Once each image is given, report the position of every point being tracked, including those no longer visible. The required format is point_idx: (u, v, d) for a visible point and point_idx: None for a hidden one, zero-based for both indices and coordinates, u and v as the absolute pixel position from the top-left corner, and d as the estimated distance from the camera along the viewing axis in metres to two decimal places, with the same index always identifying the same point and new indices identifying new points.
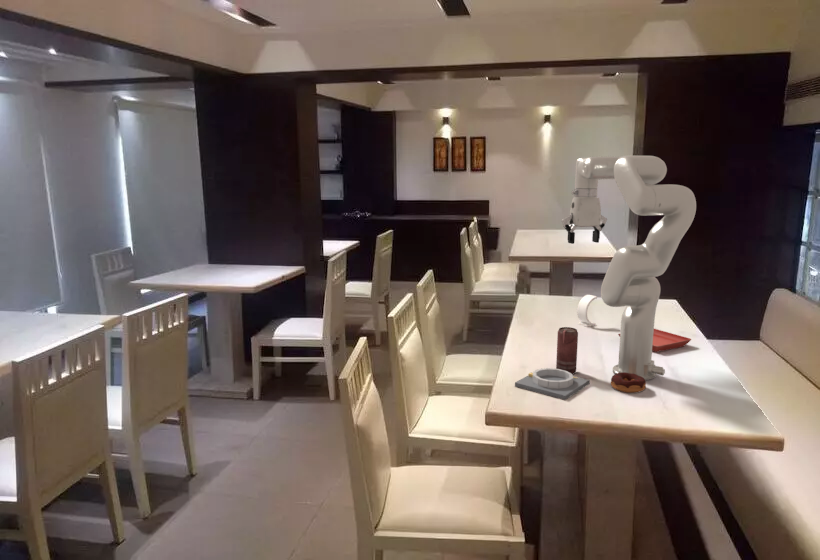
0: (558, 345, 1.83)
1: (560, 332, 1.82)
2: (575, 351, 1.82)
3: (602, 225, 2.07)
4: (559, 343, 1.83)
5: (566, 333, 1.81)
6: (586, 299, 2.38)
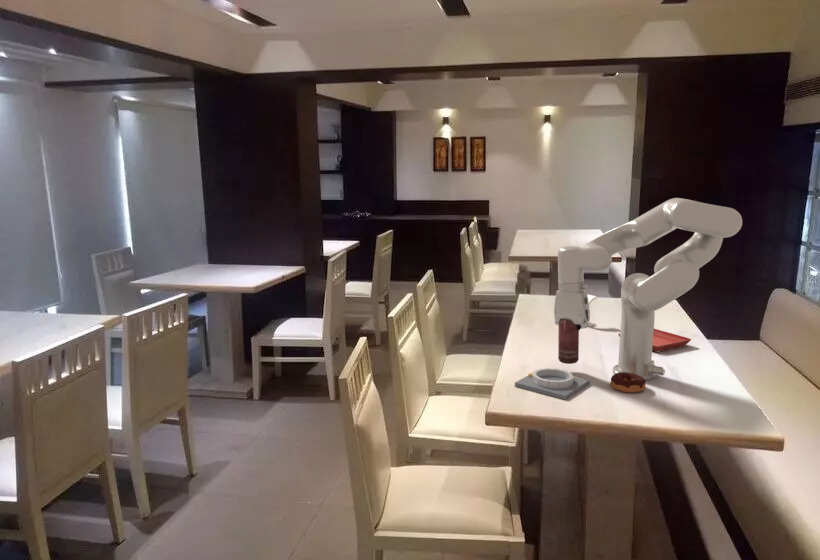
0: (559, 334, 1.83)
1: (561, 321, 1.81)
2: (577, 340, 1.82)
3: None
4: (560, 332, 1.82)
5: (567, 322, 1.80)
6: None
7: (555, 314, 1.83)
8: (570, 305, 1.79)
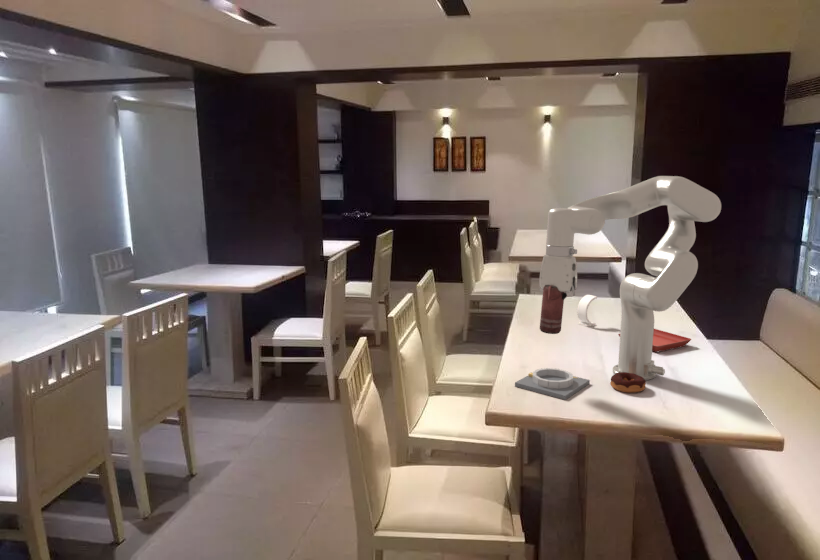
0: (543, 302, 1.71)
1: (545, 287, 1.70)
2: (560, 309, 1.70)
3: None
4: (544, 299, 1.70)
5: (552, 289, 1.68)
6: (586, 299, 2.38)
7: (540, 280, 1.72)
8: (557, 270, 1.67)
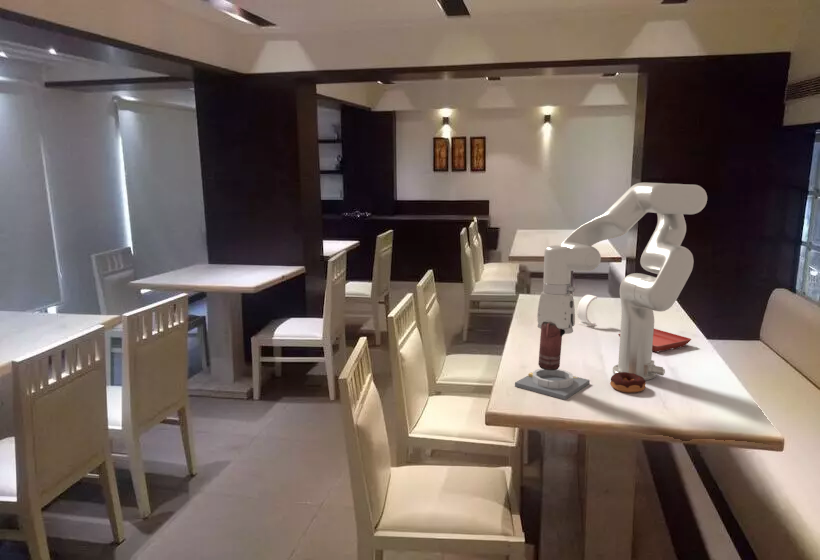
0: (541, 338, 1.72)
1: (544, 325, 1.70)
2: (559, 345, 1.71)
3: None
4: (542, 336, 1.71)
5: (550, 326, 1.69)
6: (586, 299, 2.38)
7: (538, 317, 1.72)
8: (554, 308, 1.68)
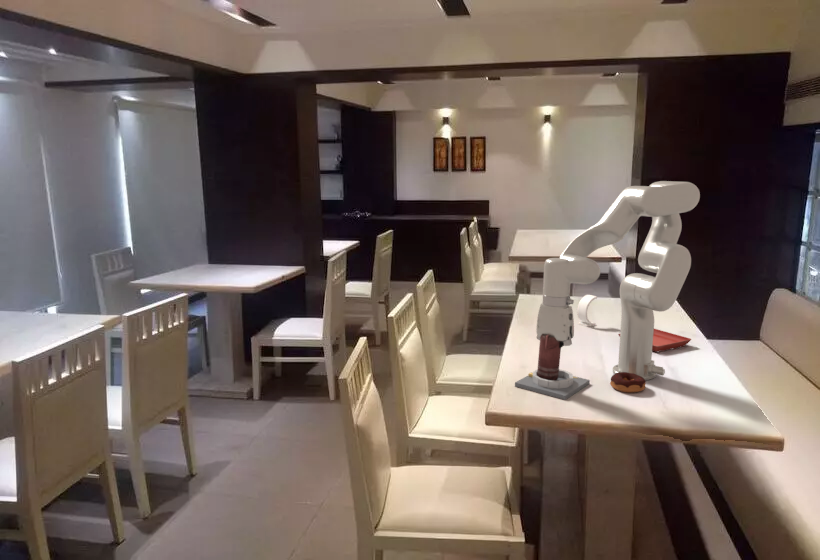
0: (540, 350, 1.72)
1: (543, 336, 1.71)
2: (558, 357, 1.71)
3: None
4: (541, 348, 1.72)
5: (549, 338, 1.70)
6: (586, 299, 2.38)
7: (537, 329, 1.73)
8: (554, 320, 1.68)
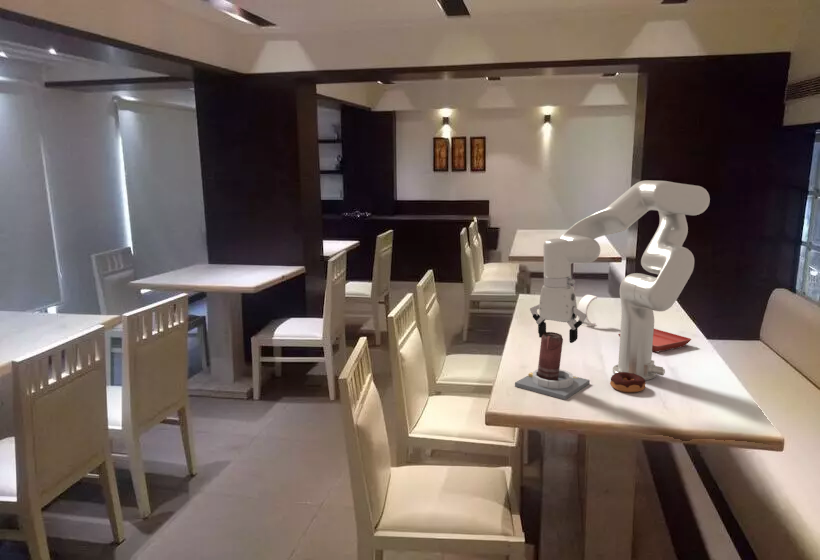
0: (541, 351, 1.73)
1: (544, 337, 1.71)
2: (559, 358, 1.72)
3: None
4: (542, 349, 1.72)
5: (550, 339, 1.70)
6: (586, 299, 2.38)
7: (540, 311, 1.72)
8: (556, 301, 1.68)
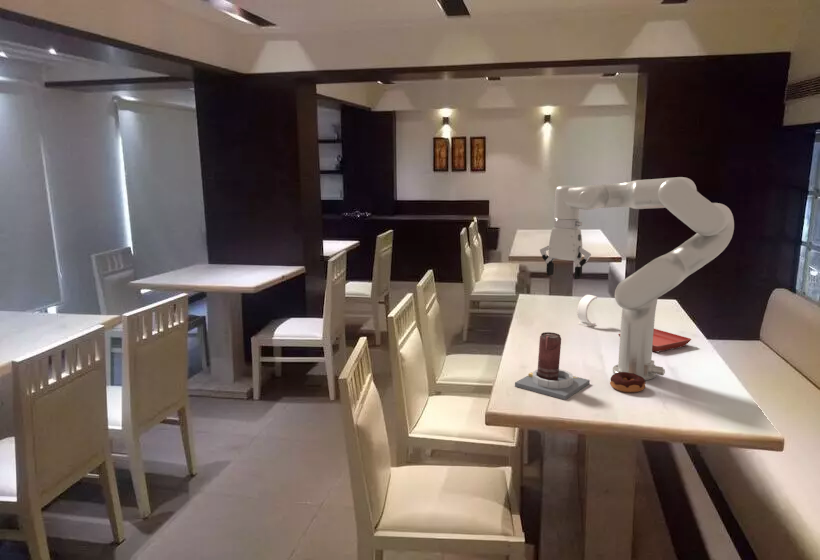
0: (540, 351, 1.73)
1: (543, 338, 1.72)
2: (558, 358, 1.72)
3: None
4: (541, 349, 1.72)
5: (549, 339, 1.70)
6: (586, 299, 2.38)
7: (549, 250, 1.92)
8: (564, 241, 1.88)
